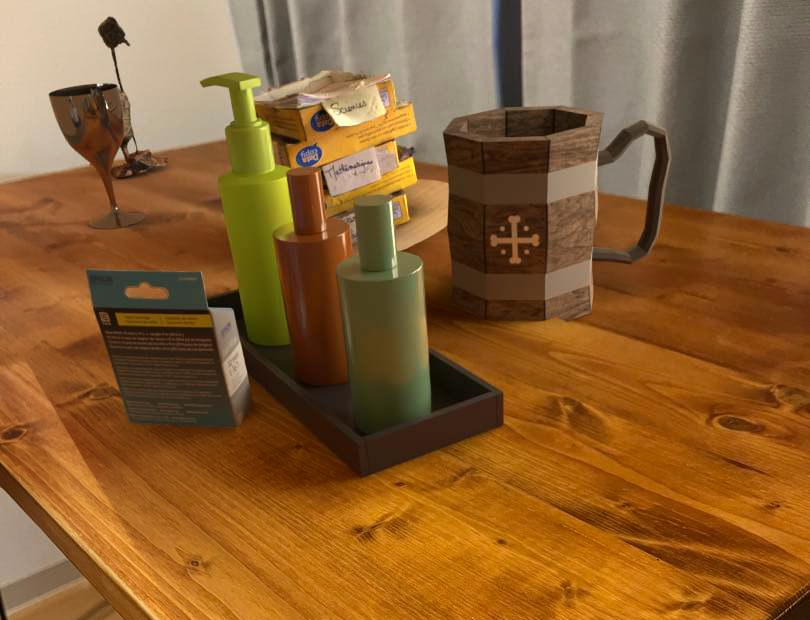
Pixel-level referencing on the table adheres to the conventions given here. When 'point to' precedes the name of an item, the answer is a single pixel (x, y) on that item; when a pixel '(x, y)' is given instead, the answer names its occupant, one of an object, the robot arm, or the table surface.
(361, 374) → the green bottle
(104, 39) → the plant with pod
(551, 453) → the table surface
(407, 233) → the yellow box stack
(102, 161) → the wine glass
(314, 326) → the amber bottle
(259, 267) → the soap dispenser
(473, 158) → the mug
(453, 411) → the tray
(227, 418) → the label tape box
